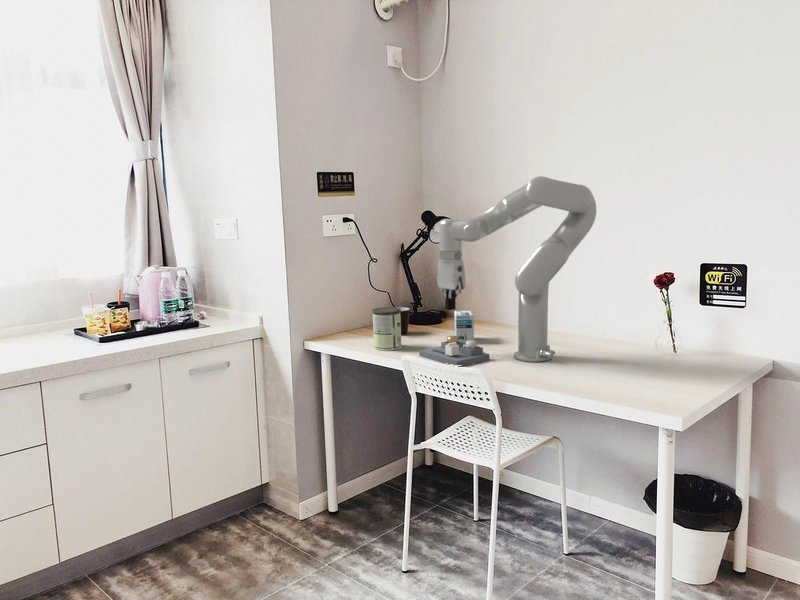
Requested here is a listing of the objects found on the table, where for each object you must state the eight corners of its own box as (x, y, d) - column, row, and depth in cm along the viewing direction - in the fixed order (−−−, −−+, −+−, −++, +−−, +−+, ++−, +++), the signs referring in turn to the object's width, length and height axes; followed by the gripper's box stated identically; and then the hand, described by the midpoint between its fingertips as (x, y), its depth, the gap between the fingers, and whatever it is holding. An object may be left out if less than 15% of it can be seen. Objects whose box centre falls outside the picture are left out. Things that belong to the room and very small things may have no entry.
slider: (459, 354, 221) (458, 343, 220) (451, 355, 219) (451, 344, 219) (452, 352, 224) (452, 341, 223) (445, 354, 222) (445, 342, 221)
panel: (489, 360, 222) (489, 348, 222) (457, 367, 214) (456, 355, 214) (450, 349, 239) (450, 338, 238) (419, 355, 231) (419, 344, 230)
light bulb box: (474, 343, 247) (474, 315, 245) (456, 344, 247) (455, 315, 246) (471, 337, 258) (471, 310, 256) (454, 338, 258) (453, 310, 256)
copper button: (459, 344, 232) (459, 336, 231) (451, 345, 230) (451, 338, 229) (452, 342, 235) (452, 335, 234) (444, 344, 232) (444, 336, 232)
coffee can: (374, 344, 250) (373, 307, 248) (401, 344, 250) (401, 306, 247) (372, 351, 240) (371, 312, 238) (401, 350, 239) (400, 311, 237)
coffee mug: (393, 331, 274) (392, 307, 272) (413, 332, 271) (412, 307, 269) (382, 337, 263) (382, 311, 261) (403, 338, 260) (402, 312, 258)
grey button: (479, 349, 224) (479, 341, 223) (470, 350, 221) (470, 343, 221) (471, 347, 226) (471, 339, 226) (463, 349, 224) (463, 341, 224)
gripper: (473, 256, 223) (473, 311, 226) (445, 253, 235) (445, 305, 238) (456, 258, 219) (456, 313, 222) (428, 255, 231) (428, 307, 234)
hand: (450, 309), depth 230 cm, fingers closed
